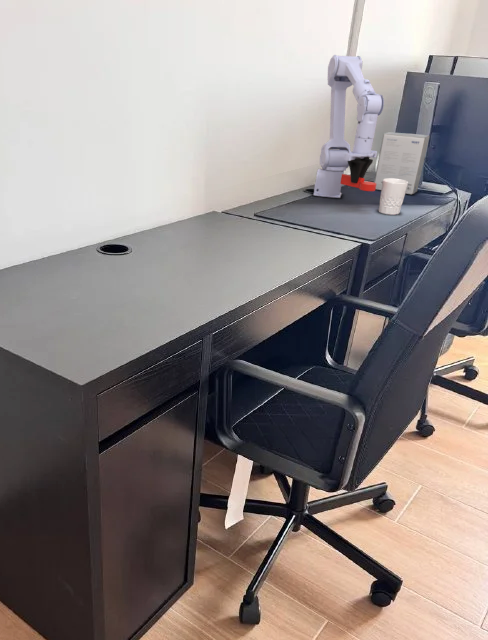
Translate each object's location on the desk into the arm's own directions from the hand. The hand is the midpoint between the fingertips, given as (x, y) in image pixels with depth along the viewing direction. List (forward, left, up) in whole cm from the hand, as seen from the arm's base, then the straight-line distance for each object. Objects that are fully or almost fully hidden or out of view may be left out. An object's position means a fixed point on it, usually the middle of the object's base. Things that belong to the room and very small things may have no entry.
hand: (356, 182), depth 190 cm
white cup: (+12, 0, -9) cm, 15 cm away
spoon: (+1, 0, -1) cm, 2 cm away
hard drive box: (+14, +38, -9) cm, 41 cm away
